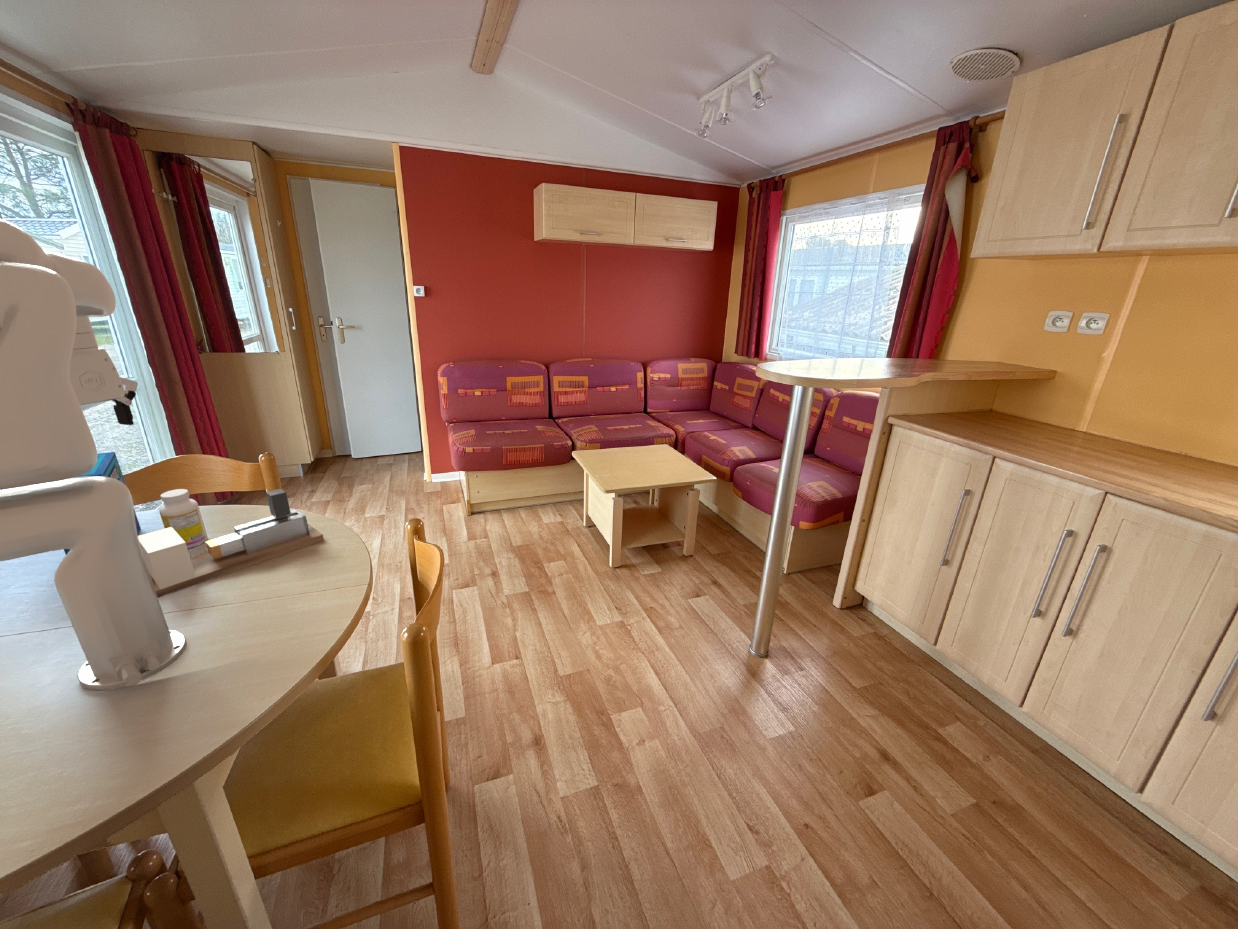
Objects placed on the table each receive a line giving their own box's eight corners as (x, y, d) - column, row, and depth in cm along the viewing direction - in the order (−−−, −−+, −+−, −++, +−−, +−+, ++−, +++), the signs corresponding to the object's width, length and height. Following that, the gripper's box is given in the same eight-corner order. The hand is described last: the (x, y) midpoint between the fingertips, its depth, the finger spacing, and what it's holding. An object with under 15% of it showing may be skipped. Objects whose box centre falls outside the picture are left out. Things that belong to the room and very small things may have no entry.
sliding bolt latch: (302, 531, 116) (293, 490, 112) (214, 559, 103) (201, 514, 100) (296, 526, 118) (287, 486, 114) (208, 553, 105) (196, 509, 102)
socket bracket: (196, 577, 99) (185, 542, 96) (160, 589, 95) (148, 553, 92) (182, 560, 104) (171, 526, 102) (147, 570, 100) (135, 536, 98)
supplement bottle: (176, 539, 115) (160, 489, 111) (211, 534, 118) (197, 485, 114) (166, 553, 110) (149, 500, 105) (203, 547, 112) (188, 496, 108)
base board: (323, 540, 117) (322, 534, 117) (155, 598, 94) (153, 591, 94) (306, 527, 123) (305, 521, 122) (143, 579, 100) (141, 572, 100)
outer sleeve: (309, 534, 116) (305, 515, 115) (247, 555, 107) (242, 534, 105) (299, 527, 120) (295, 508, 118) (238, 546, 110) (233, 526, 109)
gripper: (19, 348, 83) (56, 445, 89) (135, 339, 99) (160, 421, 105) (-12, 346, 84) (26, 440, 90) (107, 337, 100) (133, 418, 106)
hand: (98, 430), depth 97 cm, fingers open, 9 cm apart
